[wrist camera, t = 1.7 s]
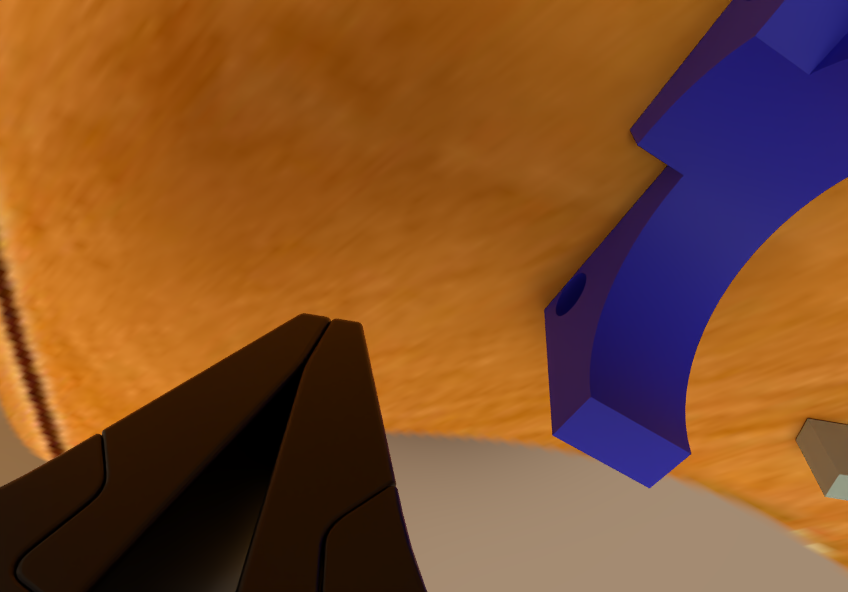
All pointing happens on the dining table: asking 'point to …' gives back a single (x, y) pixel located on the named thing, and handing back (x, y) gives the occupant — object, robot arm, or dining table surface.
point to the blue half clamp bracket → (697, 224)
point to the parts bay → (826, 455)
